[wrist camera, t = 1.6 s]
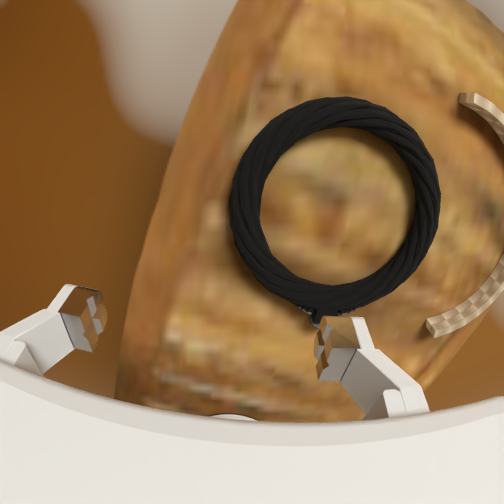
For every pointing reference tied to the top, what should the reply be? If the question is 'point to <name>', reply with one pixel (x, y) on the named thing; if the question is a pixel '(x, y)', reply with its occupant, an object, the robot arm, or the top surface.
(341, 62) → the top surface
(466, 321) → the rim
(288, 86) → the top surface
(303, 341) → the top surface
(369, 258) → the top surface
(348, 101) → the cable lock
